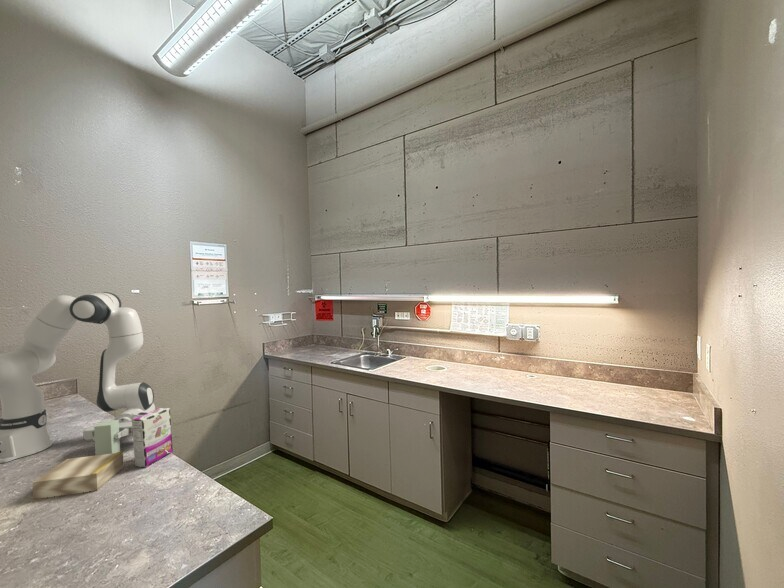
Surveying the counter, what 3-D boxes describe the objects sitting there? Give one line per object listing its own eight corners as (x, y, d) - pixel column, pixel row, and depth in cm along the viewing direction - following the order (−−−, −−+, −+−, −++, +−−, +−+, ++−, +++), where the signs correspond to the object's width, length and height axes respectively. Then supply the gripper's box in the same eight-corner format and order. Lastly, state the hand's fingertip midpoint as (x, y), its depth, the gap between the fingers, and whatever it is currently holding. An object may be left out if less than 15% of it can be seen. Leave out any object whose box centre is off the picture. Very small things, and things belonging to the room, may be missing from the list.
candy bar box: (161, 451, 126) (159, 407, 126) (173, 452, 125) (171, 407, 125) (133, 467, 115) (130, 419, 115) (145, 468, 114) (143, 419, 114)
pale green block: (95, 460, 120) (94, 426, 119) (104, 453, 124) (102, 421, 124) (112, 458, 121) (110, 425, 120) (120, 452, 125) (118, 419, 125)
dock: (33, 499, 99) (32, 481, 98) (68, 473, 112) (67, 458, 112) (97, 490, 102) (96, 473, 102) (123, 466, 116) (122, 451, 116)
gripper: (96, 417, 133) (71, 432, 119) (155, 412, 137) (137, 425, 124) (97, 433, 133) (72, 450, 119) (155, 427, 137) (138, 443, 124)
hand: (105, 437), depth 121 cm, fingers closed on pale green block, 5 cm apart
